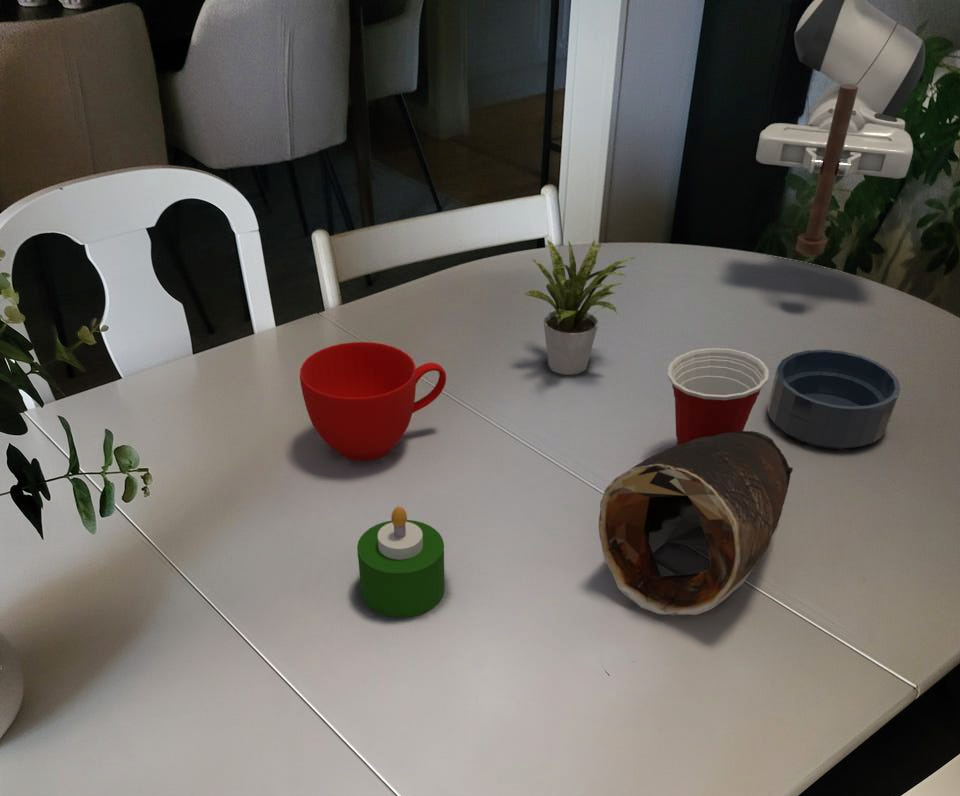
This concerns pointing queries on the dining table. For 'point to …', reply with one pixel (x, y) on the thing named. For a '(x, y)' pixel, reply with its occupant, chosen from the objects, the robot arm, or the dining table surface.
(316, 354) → the ceramic cup
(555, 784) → the dining table surface
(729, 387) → the plastic cup
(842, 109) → the stirring stick
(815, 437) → the bowl
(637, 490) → the brown hollow cylinder
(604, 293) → the house plant
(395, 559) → the candle
